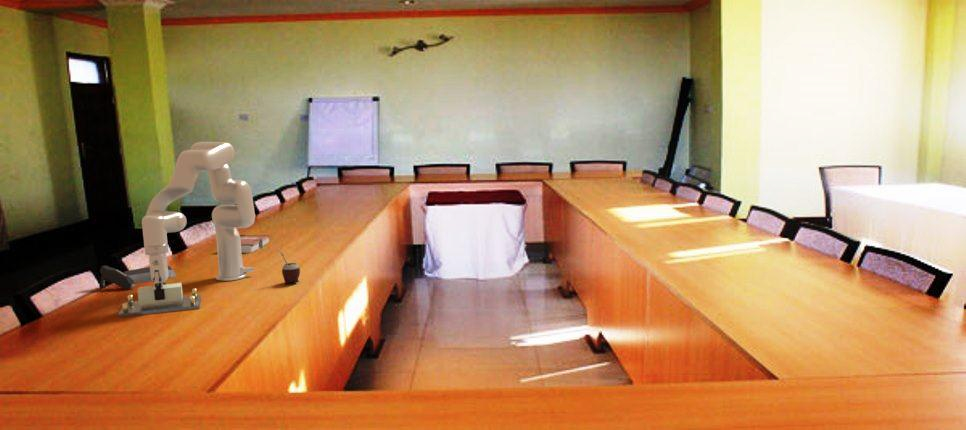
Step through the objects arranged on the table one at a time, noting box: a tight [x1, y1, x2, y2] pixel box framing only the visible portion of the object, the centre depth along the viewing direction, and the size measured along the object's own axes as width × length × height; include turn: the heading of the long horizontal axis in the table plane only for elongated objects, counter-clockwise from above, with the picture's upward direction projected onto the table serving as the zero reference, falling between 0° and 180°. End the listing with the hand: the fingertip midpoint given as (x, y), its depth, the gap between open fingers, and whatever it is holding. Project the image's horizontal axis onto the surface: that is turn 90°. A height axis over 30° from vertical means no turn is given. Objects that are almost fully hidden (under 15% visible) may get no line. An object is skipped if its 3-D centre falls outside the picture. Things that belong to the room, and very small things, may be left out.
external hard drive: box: [123, 265, 177, 284], centre depth 274 cm, size 13×19×4 cm
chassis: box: [117, 287, 203, 318], centre depth 232 cm, size 26×15×4 cm, turn 111°
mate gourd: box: [275, 248, 301, 286], centre depth 262 cm, size 8×8×15 cm
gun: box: [99, 265, 136, 291], centre depth 258 cm, size 3×16×10 cm, turn 79°
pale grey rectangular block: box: [137, 282, 184, 305], centre depth 232 cm, size 14×6×5 cm, turn 113°
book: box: [240, 234, 270, 254], centre depth 333 cm, size 26×18×5 cm
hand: (161, 296), depth 232 cm, fingers closed on pale grey rectangular block, 6 cm apart
